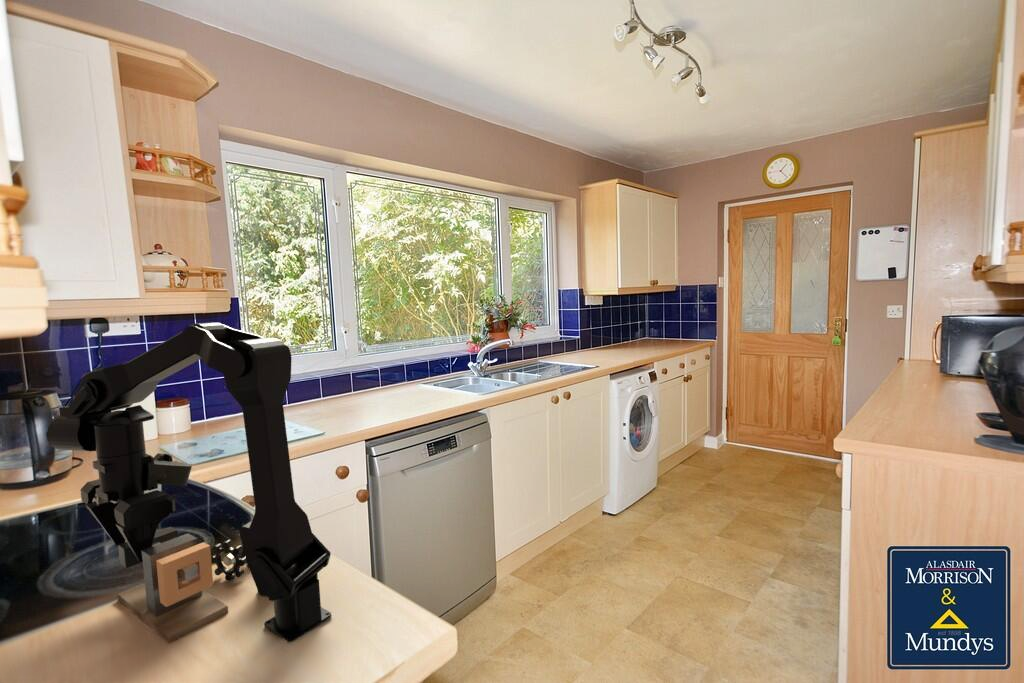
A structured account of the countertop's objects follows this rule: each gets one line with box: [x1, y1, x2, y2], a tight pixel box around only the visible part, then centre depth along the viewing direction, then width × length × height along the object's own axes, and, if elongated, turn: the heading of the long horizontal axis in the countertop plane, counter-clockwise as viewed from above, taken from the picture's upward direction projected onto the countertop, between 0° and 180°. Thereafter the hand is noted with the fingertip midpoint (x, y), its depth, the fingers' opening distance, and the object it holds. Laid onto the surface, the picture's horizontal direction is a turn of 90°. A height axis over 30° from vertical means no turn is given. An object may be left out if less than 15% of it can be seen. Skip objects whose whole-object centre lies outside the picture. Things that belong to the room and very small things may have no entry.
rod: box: [117, 526, 198, 581], centre depth 73 cm, size 16×7×3 cm, turn 56°
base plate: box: [117, 582, 229, 644], centre depth 73 cm, size 18×8×1 cm, turn 56°
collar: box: [156, 541, 214, 607], centre depth 70 cm, size 2×6×6 cm, turn 146°
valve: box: [211, 539, 247, 582], centre depth 85 cm, size 7×7×12 cm
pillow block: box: [142, 533, 202, 617], centre depth 72 cm, size 3×6×9 cm, turn 145°
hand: (131, 552), depth 75 cm, fingers open, 9 cm apart
